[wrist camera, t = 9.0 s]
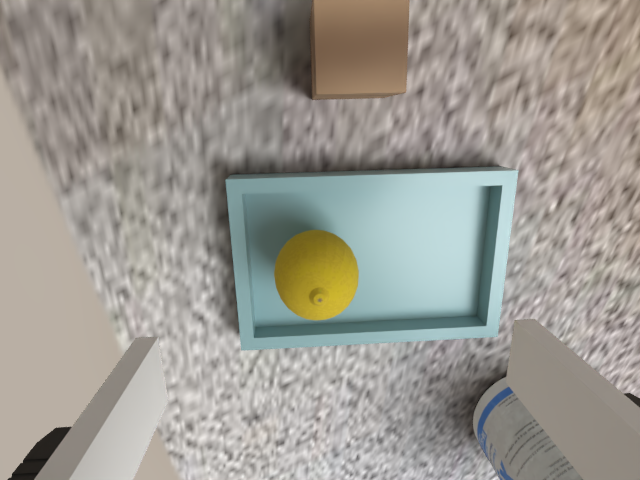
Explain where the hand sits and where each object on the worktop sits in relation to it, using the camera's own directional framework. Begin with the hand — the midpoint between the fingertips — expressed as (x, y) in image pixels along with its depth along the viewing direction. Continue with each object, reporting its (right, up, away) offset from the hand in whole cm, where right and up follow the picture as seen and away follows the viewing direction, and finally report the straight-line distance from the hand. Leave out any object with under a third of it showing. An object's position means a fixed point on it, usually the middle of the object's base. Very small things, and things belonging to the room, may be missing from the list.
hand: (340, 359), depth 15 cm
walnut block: (+1, +17, +12) cm, 21 cm away
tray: (+3, +3, +16) cm, 17 cm away
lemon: (-1, +4, +15) cm, 16 cm away
